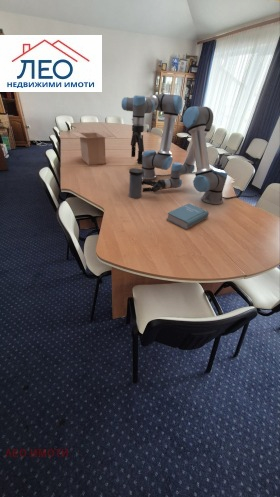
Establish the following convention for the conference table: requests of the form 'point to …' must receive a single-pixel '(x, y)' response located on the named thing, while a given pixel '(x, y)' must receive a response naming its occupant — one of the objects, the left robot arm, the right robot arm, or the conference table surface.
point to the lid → (136, 171)
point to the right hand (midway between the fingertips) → (139, 186)
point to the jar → (135, 186)
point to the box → (92, 146)
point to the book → (187, 216)
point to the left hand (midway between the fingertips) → (136, 159)
